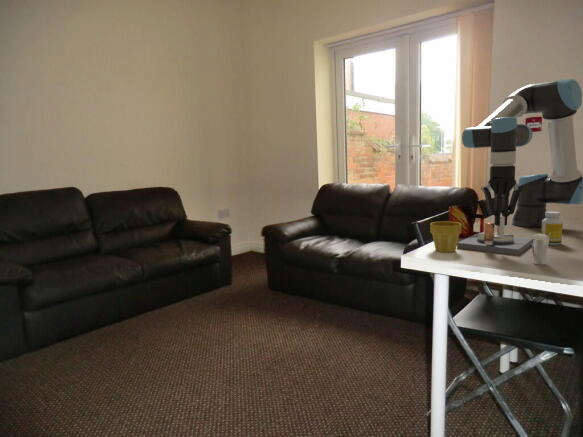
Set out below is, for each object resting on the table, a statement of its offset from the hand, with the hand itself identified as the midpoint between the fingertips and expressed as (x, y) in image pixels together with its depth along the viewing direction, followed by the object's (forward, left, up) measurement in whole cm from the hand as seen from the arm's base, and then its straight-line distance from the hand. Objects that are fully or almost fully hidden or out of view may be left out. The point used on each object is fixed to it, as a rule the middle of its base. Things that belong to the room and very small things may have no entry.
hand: (500, 235), depth 144 cm
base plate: (-9, -4, -6) cm, 11 cm away
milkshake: (+9, +14, -6) cm, 18 cm away
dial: (-6, -4, -4) cm, 8 cm away
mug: (-23, -19, -6) cm, 30 cm away
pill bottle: (-25, +11, -6) cm, 28 cm away
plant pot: (+7, -16, -6) cm, 19 cm away
